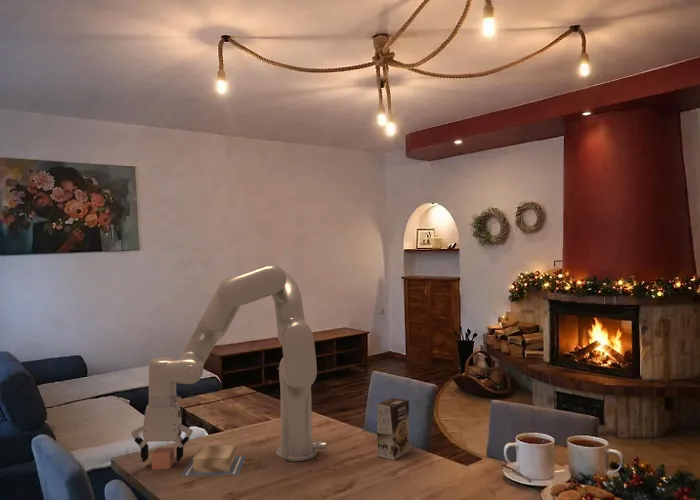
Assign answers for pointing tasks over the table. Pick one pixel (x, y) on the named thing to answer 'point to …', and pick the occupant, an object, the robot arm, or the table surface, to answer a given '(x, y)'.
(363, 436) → the table surface
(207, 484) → the table surface
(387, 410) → the snack box
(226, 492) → the table surface
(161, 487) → the table surface
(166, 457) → the terracotta block
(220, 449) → the maple base block
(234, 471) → the board
